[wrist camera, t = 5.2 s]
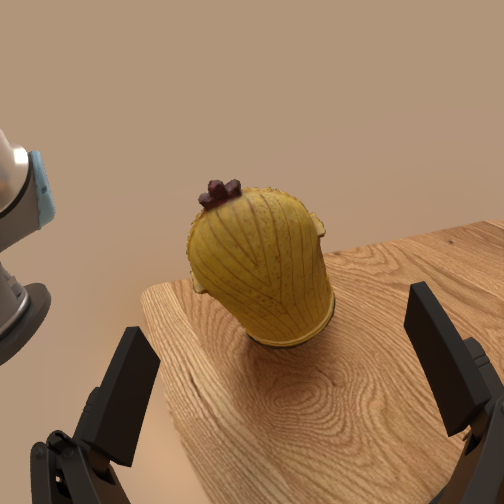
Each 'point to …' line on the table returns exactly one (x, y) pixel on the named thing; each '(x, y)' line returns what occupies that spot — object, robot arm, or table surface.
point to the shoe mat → (435, 501)
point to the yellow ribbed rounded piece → (262, 262)
